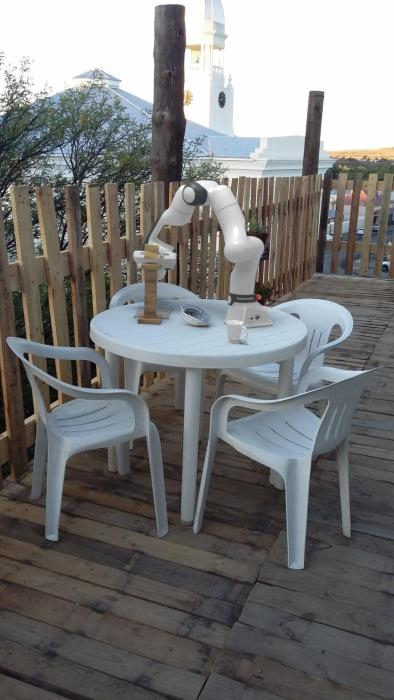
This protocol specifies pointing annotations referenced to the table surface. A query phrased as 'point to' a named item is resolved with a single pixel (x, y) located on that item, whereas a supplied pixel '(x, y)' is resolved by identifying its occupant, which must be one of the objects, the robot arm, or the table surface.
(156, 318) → the walnut stand
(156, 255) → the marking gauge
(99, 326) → the table surface
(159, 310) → the rubber mat
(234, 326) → the cup
